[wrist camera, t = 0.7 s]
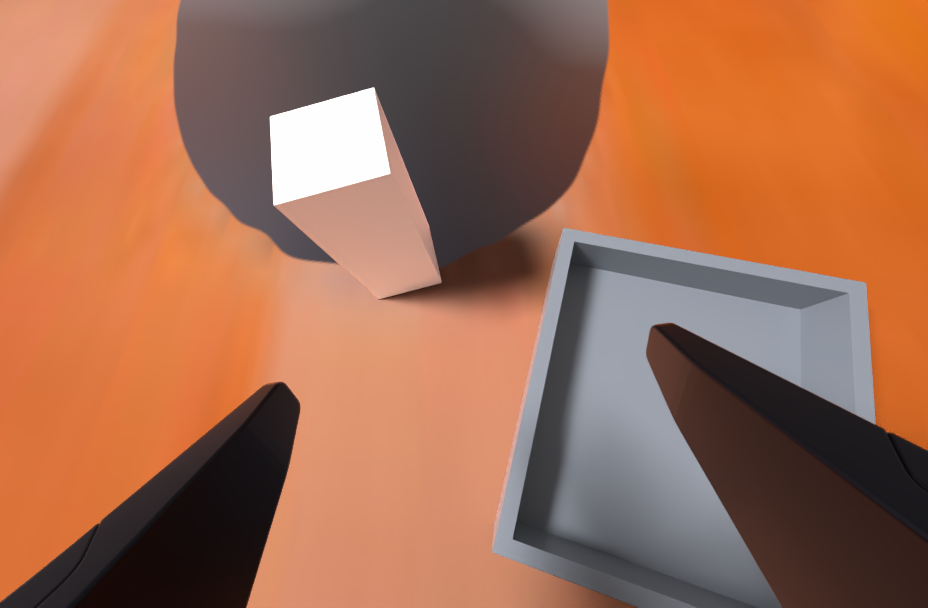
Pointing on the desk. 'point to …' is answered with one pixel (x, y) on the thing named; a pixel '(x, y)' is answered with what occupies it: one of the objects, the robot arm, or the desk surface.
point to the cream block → (353, 192)
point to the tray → (657, 415)
